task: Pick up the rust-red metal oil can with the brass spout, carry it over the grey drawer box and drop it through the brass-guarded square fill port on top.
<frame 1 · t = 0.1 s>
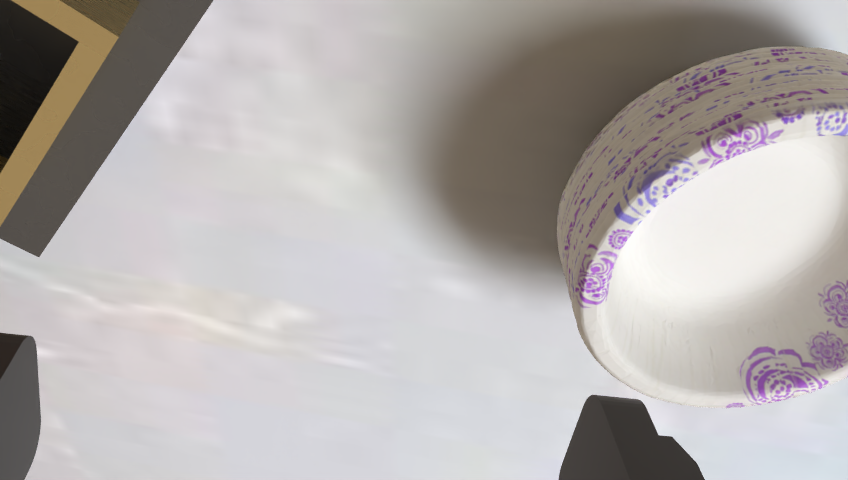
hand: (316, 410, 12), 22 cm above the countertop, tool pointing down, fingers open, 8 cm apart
paper bowls: (710, 167, 37), on the countertop
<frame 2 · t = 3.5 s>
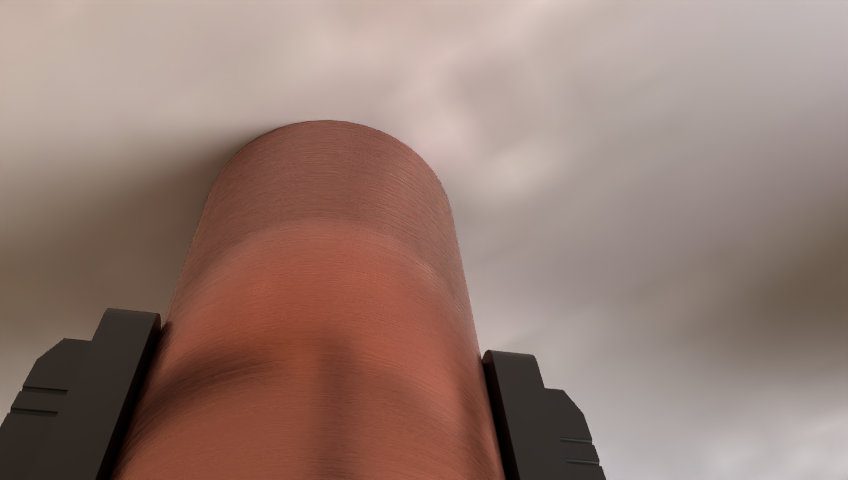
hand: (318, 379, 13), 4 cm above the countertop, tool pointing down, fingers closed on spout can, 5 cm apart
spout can: (330, 236, 16), on the countertop, touching gripper
when the fingers open (11 cm above the countertop, at t = 9.4 s): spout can drops 5 cm, resting on grey drawer box.
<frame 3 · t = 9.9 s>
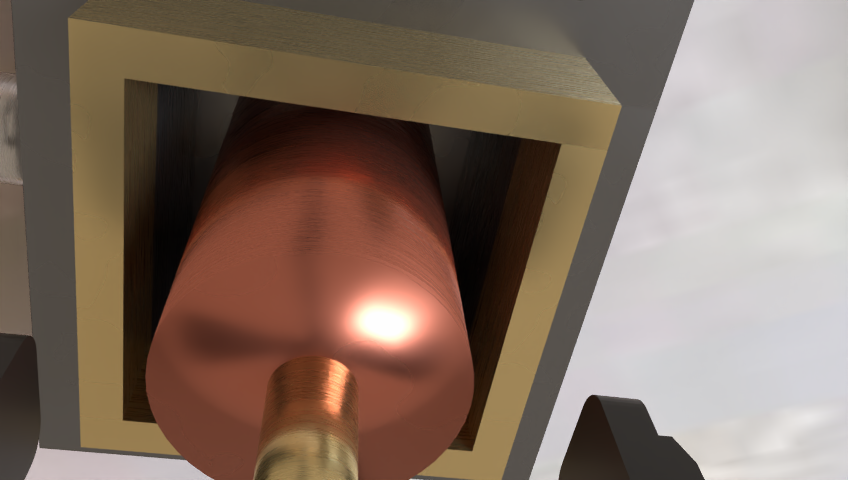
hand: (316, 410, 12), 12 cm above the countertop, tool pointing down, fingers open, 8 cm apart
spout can: (332, 132, 21), point 1 cm above the countertop, touching grey drawer box
grey drawer box: (336, 117, 22), on the countertop
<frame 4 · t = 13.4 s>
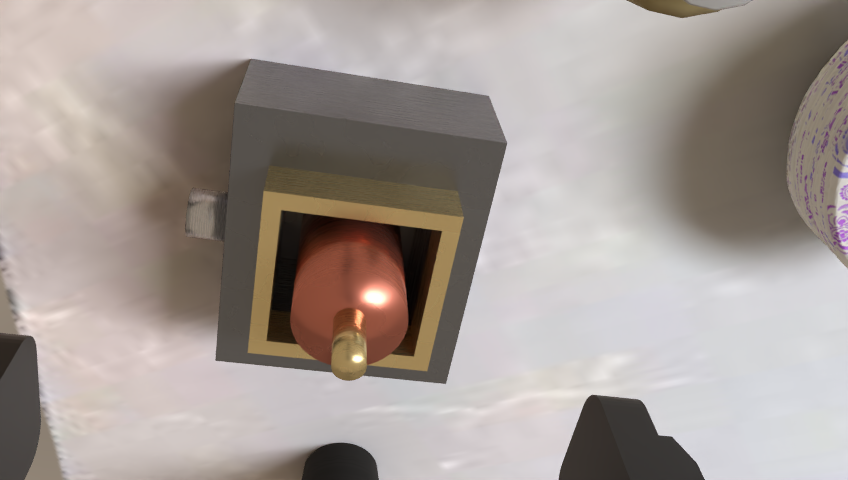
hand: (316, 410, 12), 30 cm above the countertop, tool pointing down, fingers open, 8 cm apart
drinking cup: (340, 466, 54), on the countertop
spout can: (351, 209, 43), point 1 cm above the countertop, touching grey drawer box
grey drawer box: (352, 200, 44), on the countertop
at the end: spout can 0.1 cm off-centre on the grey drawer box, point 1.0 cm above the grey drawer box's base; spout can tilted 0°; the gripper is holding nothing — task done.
